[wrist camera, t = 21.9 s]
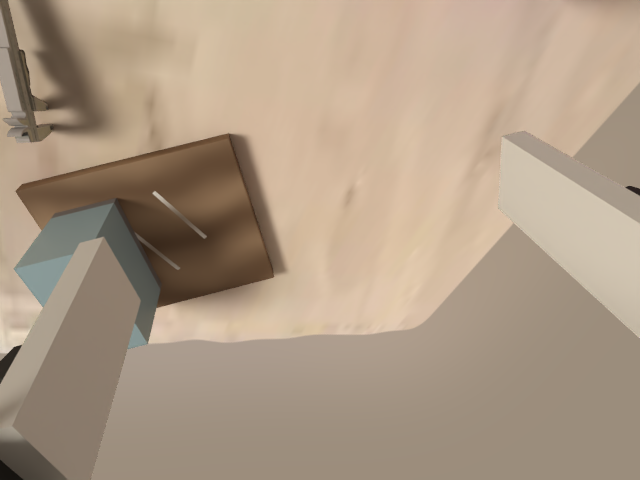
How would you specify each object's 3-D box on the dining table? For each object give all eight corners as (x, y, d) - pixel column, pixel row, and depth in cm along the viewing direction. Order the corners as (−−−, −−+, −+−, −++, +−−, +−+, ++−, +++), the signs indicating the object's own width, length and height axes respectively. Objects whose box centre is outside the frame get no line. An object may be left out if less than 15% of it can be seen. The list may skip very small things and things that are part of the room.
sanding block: (54, 213, 41) (13, 269, 33) (116, 197, 41) (89, 249, 33) (108, 297, 47) (84, 360, 39) (161, 283, 47) (147, 344, 39)
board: (22, 184, 40) (15, 191, 39) (228, 133, 41) (228, 138, 40) (106, 312, 50) (103, 321, 48) (272, 269, 50) (273, 277, 49)
